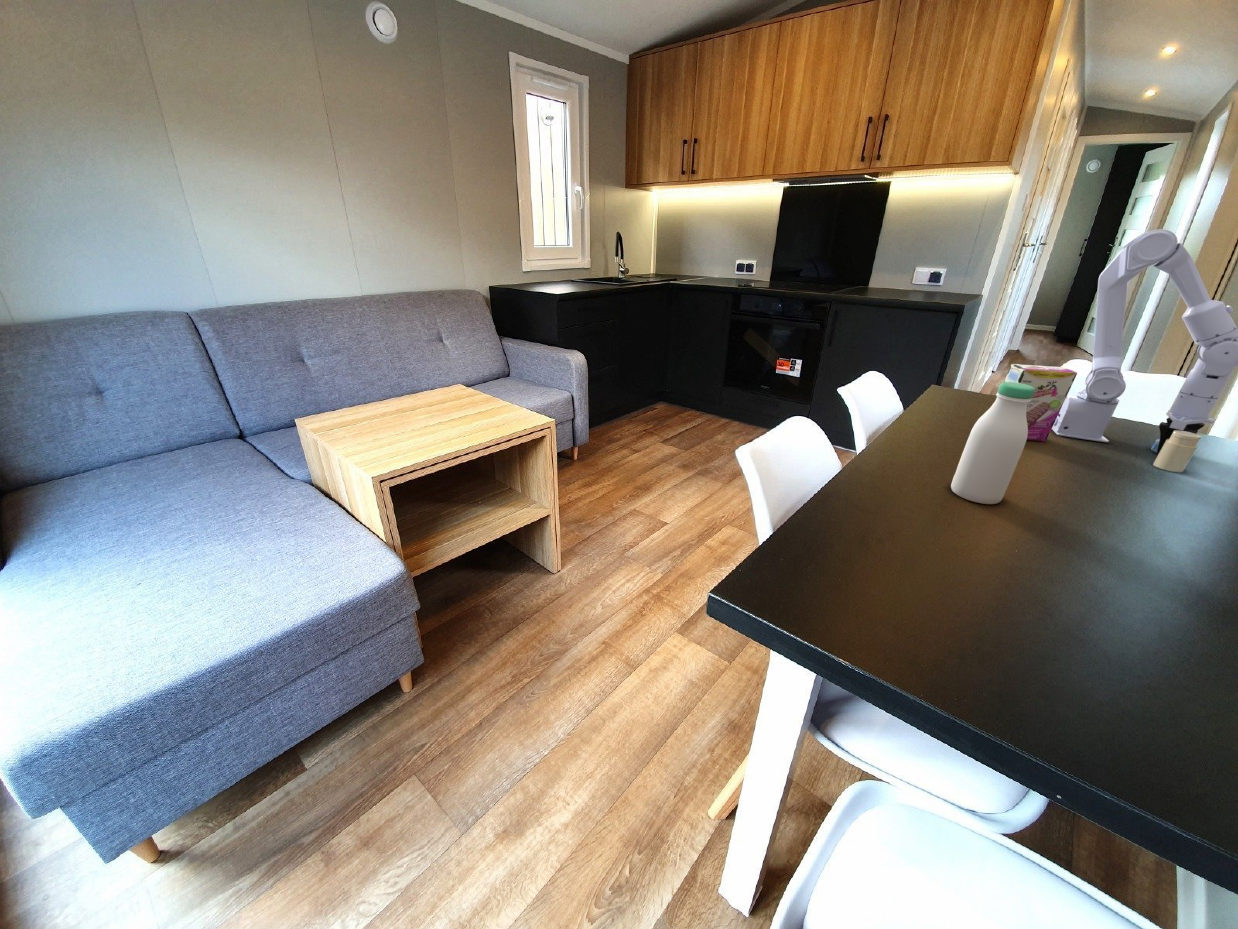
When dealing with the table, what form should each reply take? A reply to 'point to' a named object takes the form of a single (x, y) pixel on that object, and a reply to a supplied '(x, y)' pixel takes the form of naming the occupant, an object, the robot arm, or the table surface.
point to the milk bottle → (994, 446)
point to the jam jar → (1177, 451)
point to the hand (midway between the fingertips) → (1165, 453)
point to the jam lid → (1155, 445)
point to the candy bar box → (1042, 395)
